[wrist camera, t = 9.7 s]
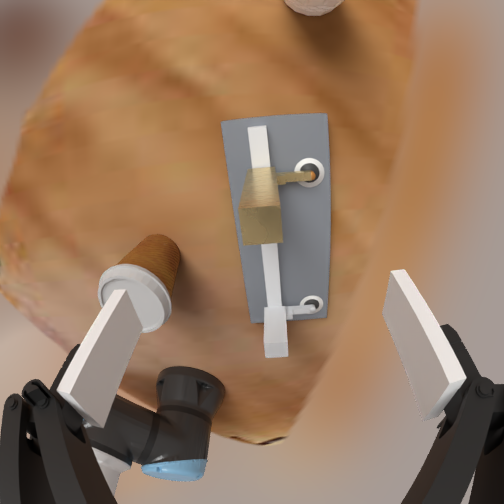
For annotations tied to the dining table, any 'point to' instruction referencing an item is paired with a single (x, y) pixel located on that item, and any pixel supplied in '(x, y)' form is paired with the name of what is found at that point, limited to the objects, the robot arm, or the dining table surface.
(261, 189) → the gold pointer slider
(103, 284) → the disposable coffee cup
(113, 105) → the dining table surface
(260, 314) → the gauge plate
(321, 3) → the white cup
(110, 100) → the dining table surface
